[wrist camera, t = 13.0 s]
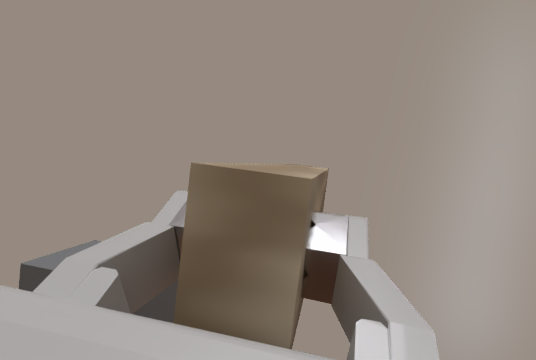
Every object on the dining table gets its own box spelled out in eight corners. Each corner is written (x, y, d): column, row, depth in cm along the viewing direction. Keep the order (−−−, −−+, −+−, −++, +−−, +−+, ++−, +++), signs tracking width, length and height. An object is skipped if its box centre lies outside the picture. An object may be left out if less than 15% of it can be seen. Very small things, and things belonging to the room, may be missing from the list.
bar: (321, 220, 27) (328, 168, 26) (285, 375, 7) (311, 178, 7) (289, 215, 27) (295, 164, 27) (170, 348, 8) (191, 162, 7)
